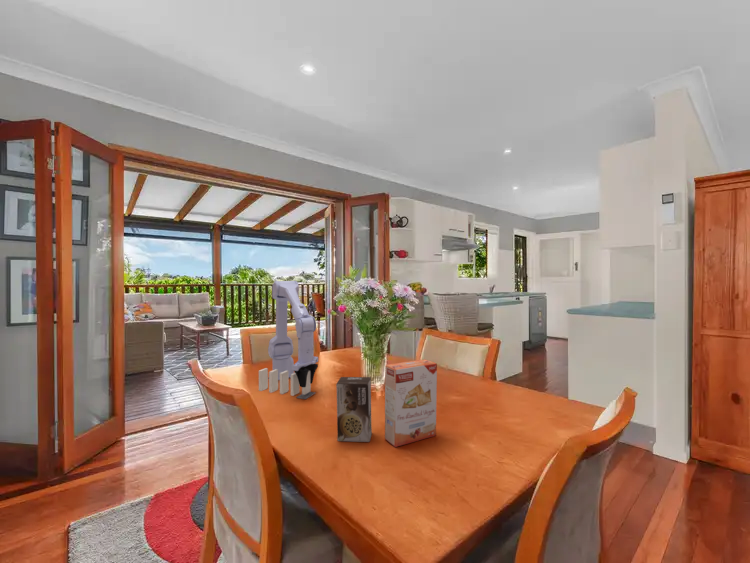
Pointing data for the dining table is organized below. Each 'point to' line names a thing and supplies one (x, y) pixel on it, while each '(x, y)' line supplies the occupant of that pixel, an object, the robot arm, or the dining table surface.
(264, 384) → the domino
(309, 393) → the plate
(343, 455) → the dining table surface
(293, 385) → the domino
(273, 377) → the domino
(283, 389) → the domino
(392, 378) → the cracker box
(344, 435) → the dark brown upright box
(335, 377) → the dining table surface
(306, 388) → the domino
